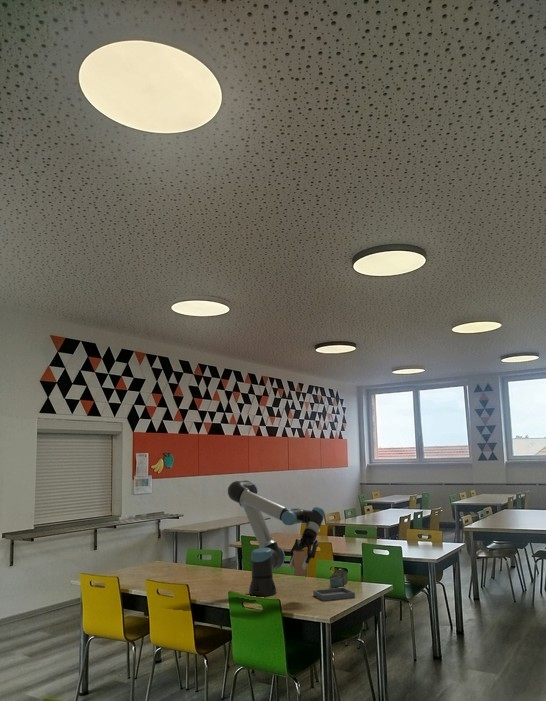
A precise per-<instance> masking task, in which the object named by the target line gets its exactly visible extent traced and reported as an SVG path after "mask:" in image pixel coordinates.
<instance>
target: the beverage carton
mask: <svg viewBox="0 0 546 701" xmlns="http://www.w3.org/2000/svg"><path fill="white" fill-rule="evenodd" d="M347 583H348V572H347V571H346V570H344V571H341V570H339V571H334V572H333V573H332V574H331V576H330V577H329V586H330V588H331V587H344V588H345V586H346V585H347ZM345 584H346V585H345ZM344 585H345V586H344Z"/></svg>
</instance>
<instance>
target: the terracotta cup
mask: <svg viewBox="0 0 546 701" xmlns="http://www.w3.org/2000/svg"><path fill="white" fill-rule="evenodd" d="M306 556H307V550H306V549H302V550H294V551H293V558H294V566H293V575H294V576H297V577H304V576H308V565H307V566H306V568H305V570H303V568H302V564H303V562H304V559H305V557H306ZM307 557H308V556H307Z"/></svg>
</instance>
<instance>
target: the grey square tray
mask: <svg viewBox="0 0 546 701" xmlns="http://www.w3.org/2000/svg"><path fill="white" fill-rule="evenodd" d="M312 592H313V595H314V596H313V597H315V596H316V597H315V598H317V597H318V598H317V599H319V598H320V600H321V599H322V600H321V601H323V600H327V601H333V600H332V599H337V600H342V599H341V598H346V599H352V598H351V597H355V598H356V593H355V591H353V590H350V589H348V588H346V587H344V588H326V589H315V590H313V591H312Z"/></svg>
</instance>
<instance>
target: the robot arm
mask: <svg viewBox="0 0 546 701" xmlns="http://www.w3.org/2000/svg"><path fill="white" fill-rule="evenodd" d="M227 495H228V497H229V498H230V500H231V501H234V502H235V503H238V504H239V506H240V507H241V508H243V509H244V512H245V514H246V517H247V519H248V522H249V524H250V526H251V530H252V531H253V534H254V536H255V539H256V541H257V542H256V543H258V548H254V549H253V550H252V551H251V553H250V555H251V556H250V560H251V561H250V562H251V563H250V564H251V565H250V566H251V581H250V584H249V588H248V595H249V594H252V595H259V596H258V597H267V596H273V595H276V594H277V587H276V584H275V582H274V578H273V577H274V576H273V572H274V570H277V569H279V568H281V567H282V566H283V564H284V563H285V560H286V555H285V552H284V550H283V548H281V547H279V546H278V543H277V541H275V540H274V539H273V538H272V535H271V533H270V530H269V528H268V526H267V524H266V520H265V518H264V516H263V514H262V513H264V514H266V515H269V516H271V518H272V517H273V518H275V519H277V520H279V521H281V522H282V523H283V524H284V525H286V526H293V525H296V524H306V525H305V527H304V530H303V532H302V536H301V538H300V539H297V538H296V539H295V542H294V544H293V546H292V548H291V549H290V551H289V555H290V559H289V561H290V562H289V565H288V566H289V568H290V569H291V570H293V569H294V558H293V551H294V550H304V549H305V548H306V549H307V550H306V554H307V556H306V557H305V559H304V562H303V564H302V568H303V570H305V568H306V566H307V567H308V564H309V563H310V560H311V559H315V556H316V553H317V548H318V546H319V544H320V543H319V541H318V540H317V536H318V534H319V532H320V531H319V530H320V528H321V525H322V523H323V521H324V518H325V511H324V509H322V508H321V507H319V506H316V507H313V508H312V510H307V509H300V508H291V509H289V508H287V507H286V506H284V505H282V504H281V505H280V504H279V503H278V502H277V503H276V502H275V501H272V500H269V499H268V498H265V497H264V496H260V495H259V494H258V488H257V486H256V484H255V483H254V482H252V481H250V480H238V481H237V480H235V481H232V482H231V483H230V484H229V486H228V487H227ZM252 595H251V596H252Z"/></svg>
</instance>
